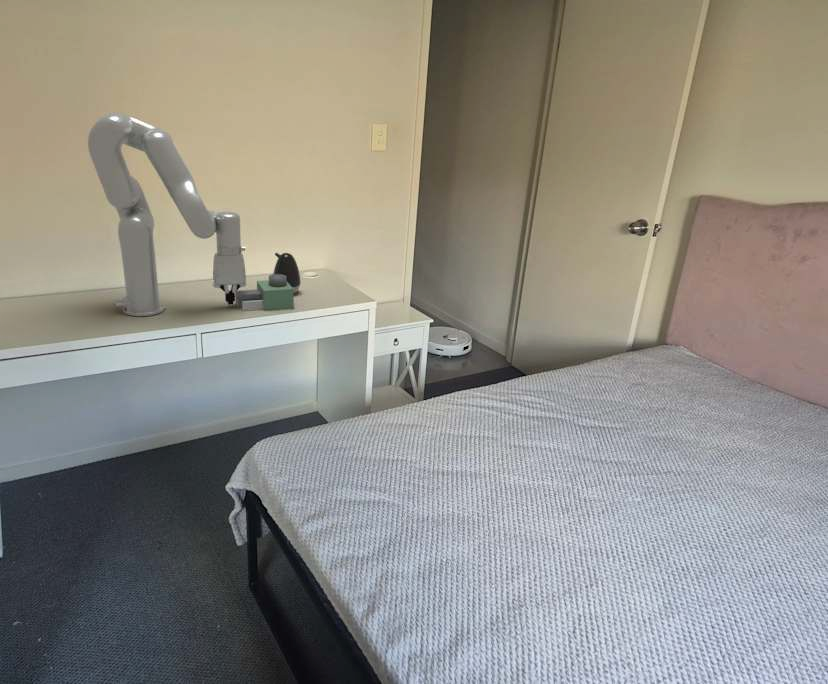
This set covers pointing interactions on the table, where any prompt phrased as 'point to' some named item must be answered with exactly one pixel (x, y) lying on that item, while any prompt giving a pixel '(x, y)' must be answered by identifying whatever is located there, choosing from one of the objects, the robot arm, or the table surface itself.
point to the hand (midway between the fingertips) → (230, 303)
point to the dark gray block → (247, 296)
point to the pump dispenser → (288, 269)
